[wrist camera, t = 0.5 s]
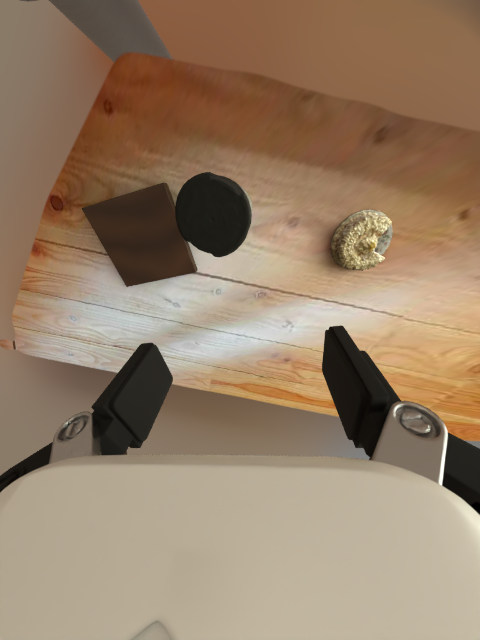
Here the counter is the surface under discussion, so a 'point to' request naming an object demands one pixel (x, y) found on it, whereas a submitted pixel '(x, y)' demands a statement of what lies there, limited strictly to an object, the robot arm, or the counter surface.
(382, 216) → the cake
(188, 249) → the chopping board
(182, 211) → the spray can
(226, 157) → the counter surface
